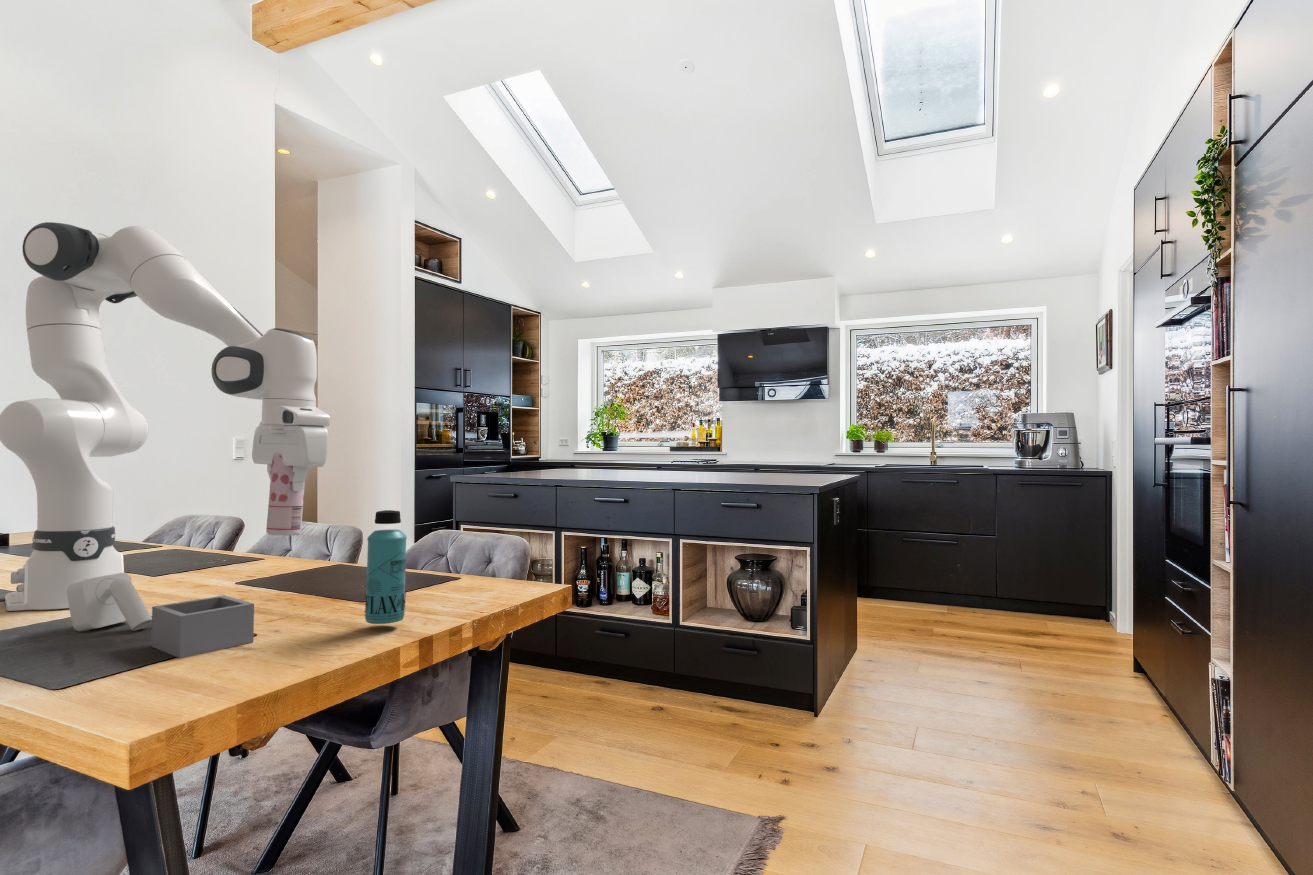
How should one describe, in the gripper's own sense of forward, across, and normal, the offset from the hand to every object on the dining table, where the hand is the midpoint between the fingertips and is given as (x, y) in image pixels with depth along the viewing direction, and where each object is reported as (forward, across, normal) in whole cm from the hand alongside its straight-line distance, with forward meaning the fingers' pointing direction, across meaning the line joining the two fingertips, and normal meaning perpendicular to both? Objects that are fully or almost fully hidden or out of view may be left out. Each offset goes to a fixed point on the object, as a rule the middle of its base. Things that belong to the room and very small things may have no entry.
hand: (286, 490), depth 125 cm
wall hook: (+23, -10, -22) cm, 33 cm away
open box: (+22, +11, -18) cm, 31 cm away
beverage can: (+8, 0, 0) cm, 8 cm away
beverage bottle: (+22, +25, +4) cm, 34 cm away
